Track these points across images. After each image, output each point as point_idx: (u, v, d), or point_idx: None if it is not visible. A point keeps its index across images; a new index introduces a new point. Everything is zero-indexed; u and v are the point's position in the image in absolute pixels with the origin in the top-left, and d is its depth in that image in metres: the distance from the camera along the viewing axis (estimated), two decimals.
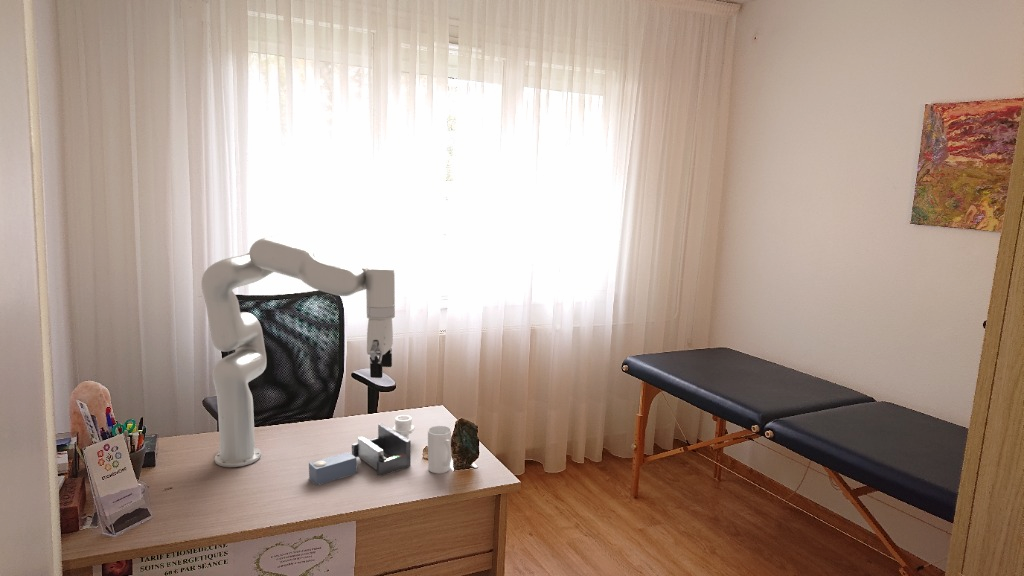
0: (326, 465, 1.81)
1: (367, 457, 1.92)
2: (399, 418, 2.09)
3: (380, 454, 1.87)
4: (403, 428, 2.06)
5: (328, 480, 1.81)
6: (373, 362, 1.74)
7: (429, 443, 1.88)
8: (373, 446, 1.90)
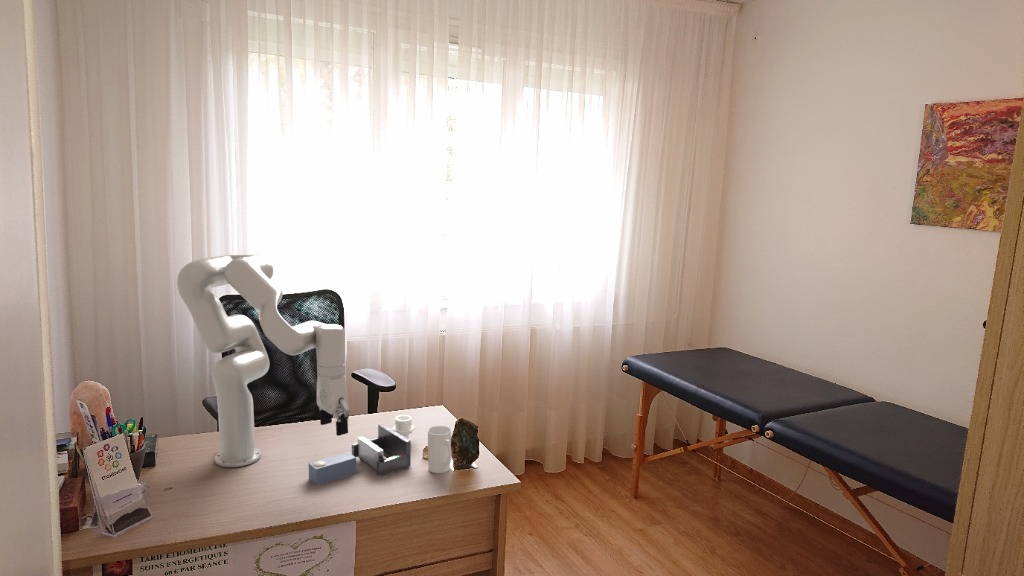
0: (326, 465, 1.81)
1: (367, 457, 1.92)
2: (399, 418, 2.09)
3: (380, 454, 1.87)
4: (403, 428, 2.06)
5: (328, 480, 1.81)
6: (343, 419, 1.76)
7: (429, 443, 1.88)
8: (373, 446, 1.90)
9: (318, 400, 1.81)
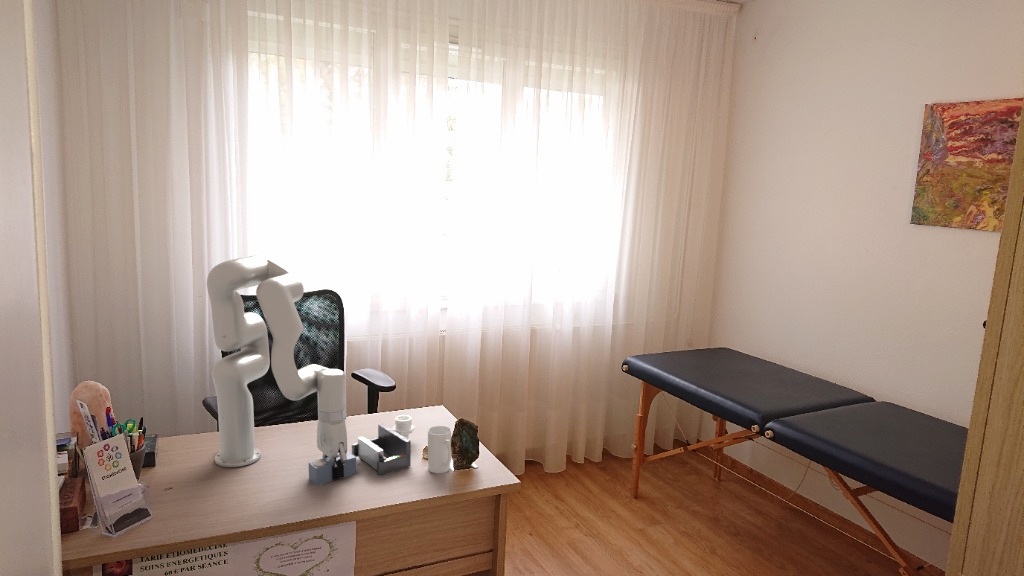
0: (326, 465, 1.81)
1: (367, 457, 1.92)
2: (399, 418, 2.09)
3: (380, 454, 1.87)
4: (403, 428, 2.06)
5: (328, 480, 1.81)
6: (339, 465, 1.81)
7: (429, 443, 1.88)
8: (373, 446, 1.90)
9: (318, 443, 1.84)
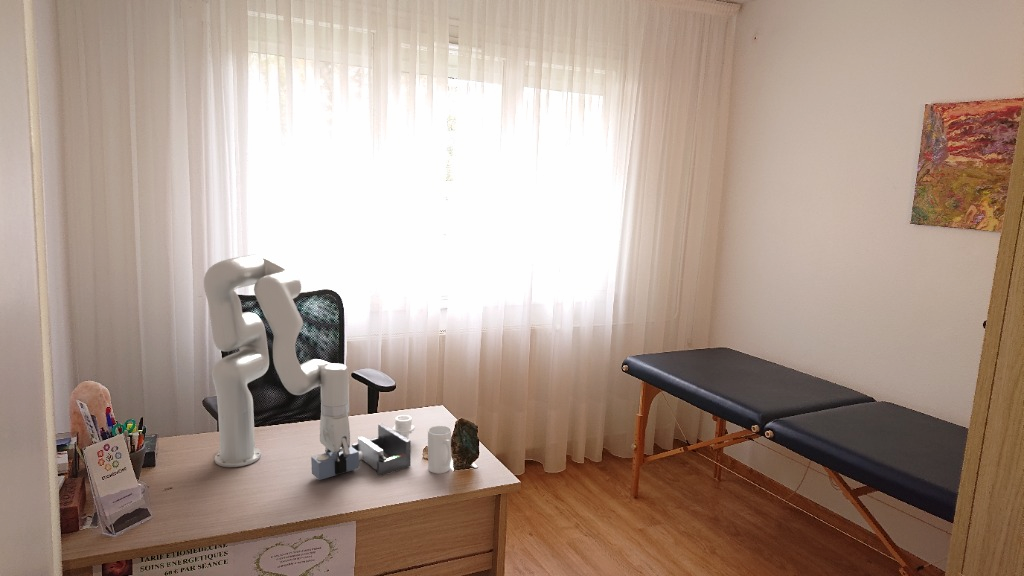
0: (328, 459, 1.81)
1: (367, 457, 1.92)
2: (399, 418, 2.09)
3: (380, 454, 1.87)
4: (403, 428, 2.06)
5: (330, 474, 1.82)
6: (342, 459, 1.81)
7: (429, 443, 1.88)
8: (373, 446, 1.90)
9: (321, 437, 1.84)
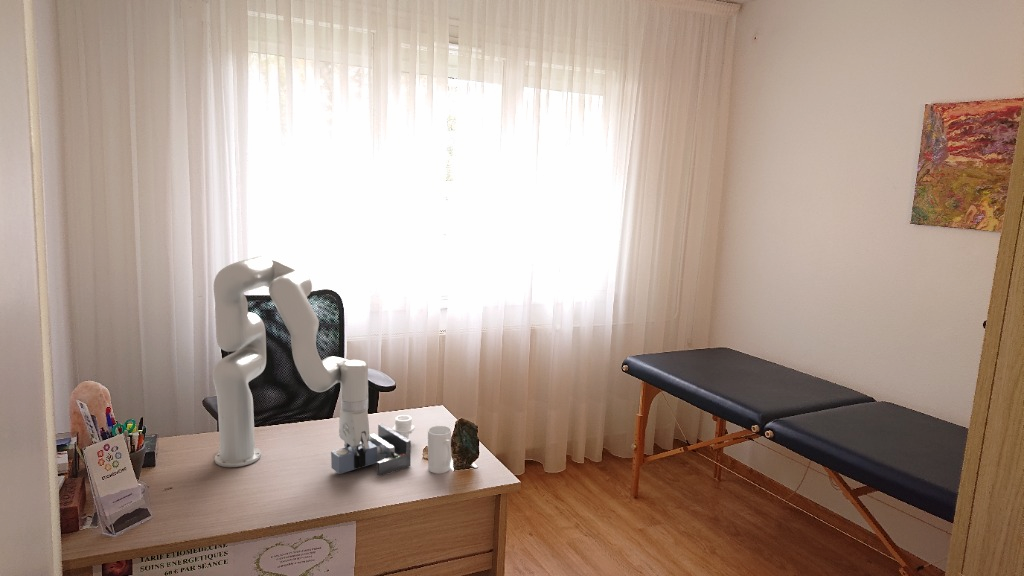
0: (348, 453, 1.85)
1: (378, 454, 1.94)
2: (399, 418, 2.09)
3: (391, 451, 1.90)
4: (403, 428, 2.06)
5: (350, 468, 1.86)
6: (361, 454, 1.85)
7: (429, 443, 1.88)
8: (384, 443, 1.92)
9: (340, 432, 1.88)
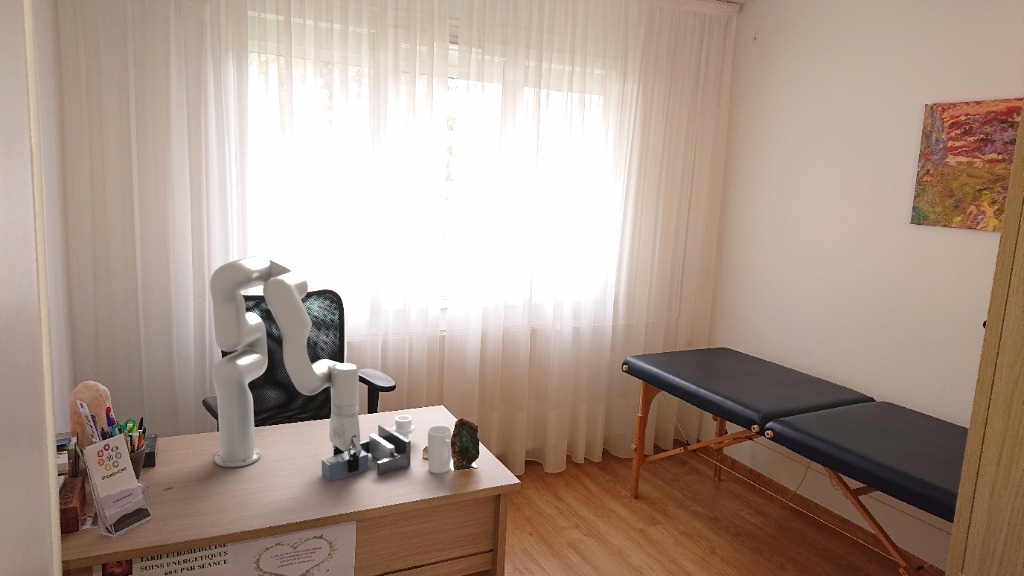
0: (338, 461, 1.83)
1: (378, 453, 1.94)
2: (399, 418, 2.09)
3: (391, 451, 1.90)
4: (403, 428, 2.06)
5: (340, 476, 1.84)
6: (355, 458, 1.82)
7: (429, 443, 1.88)
8: (384, 443, 1.92)
9: (331, 436, 1.86)
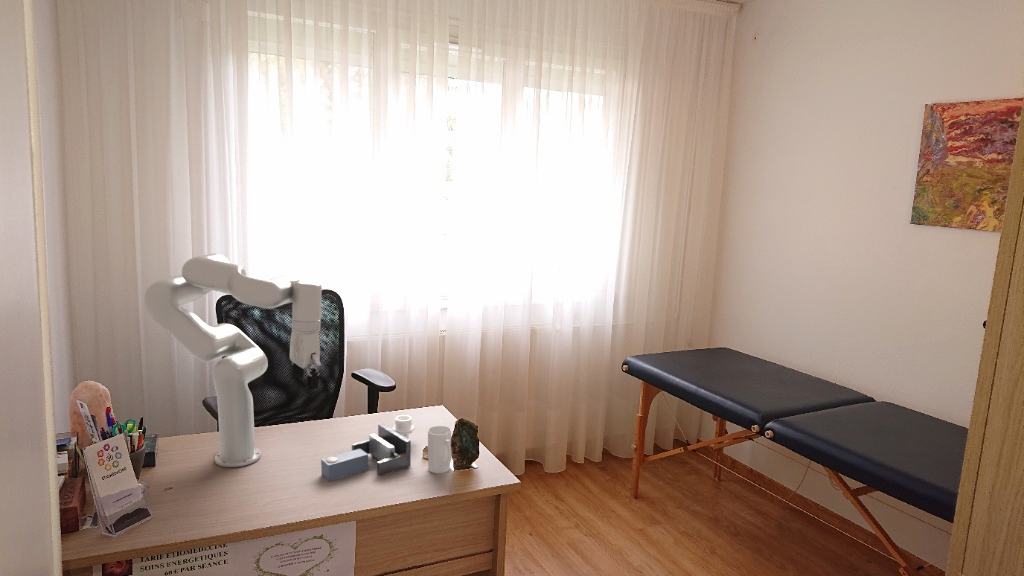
0: (338, 462, 1.83)
1: (378, 453, 1.94)
2: (399, 418, 2.09)
3: (391, 451, 1.90)
4: (403, 428, 2.06)
5: (340, 476, 1.84)
6: (314, 374, 1.79)
7: (429, 443, 1.88)
8: (384, 443, 1.92)
9: (291, 354, 1.84)
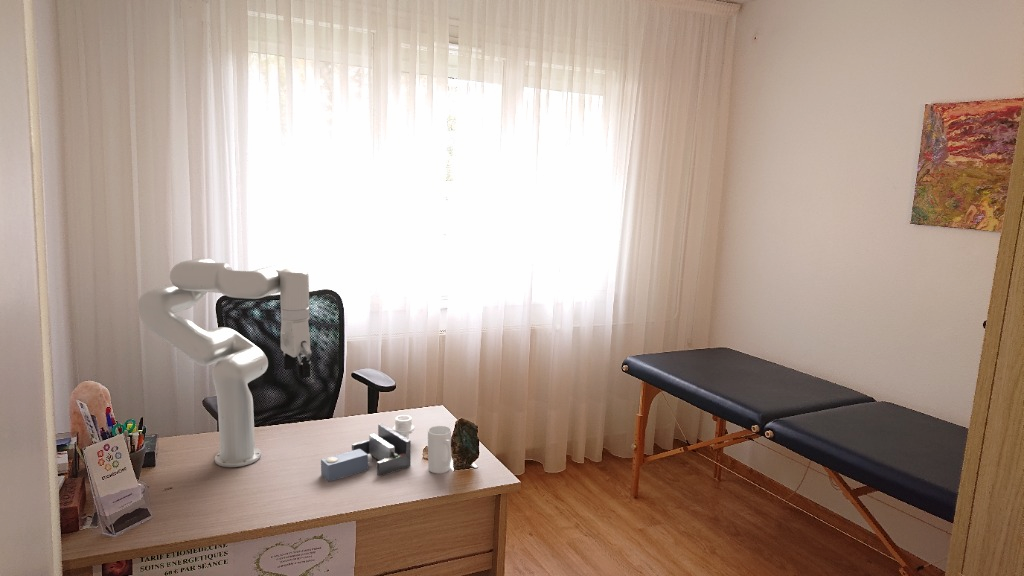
0: (338, 462, 1.83)
1: (378, 453, 1.94)
2: (399, 418, 2.09)
3: (391, 451, 1.90)
4: (403, 428, 2.06)
5: (340, 476, 1.84)
6: (305, 363, 1.79)
7: (429, 443, 1.88)
8: (384, 443, 1.92)
9: (282, 344, 1.84)
